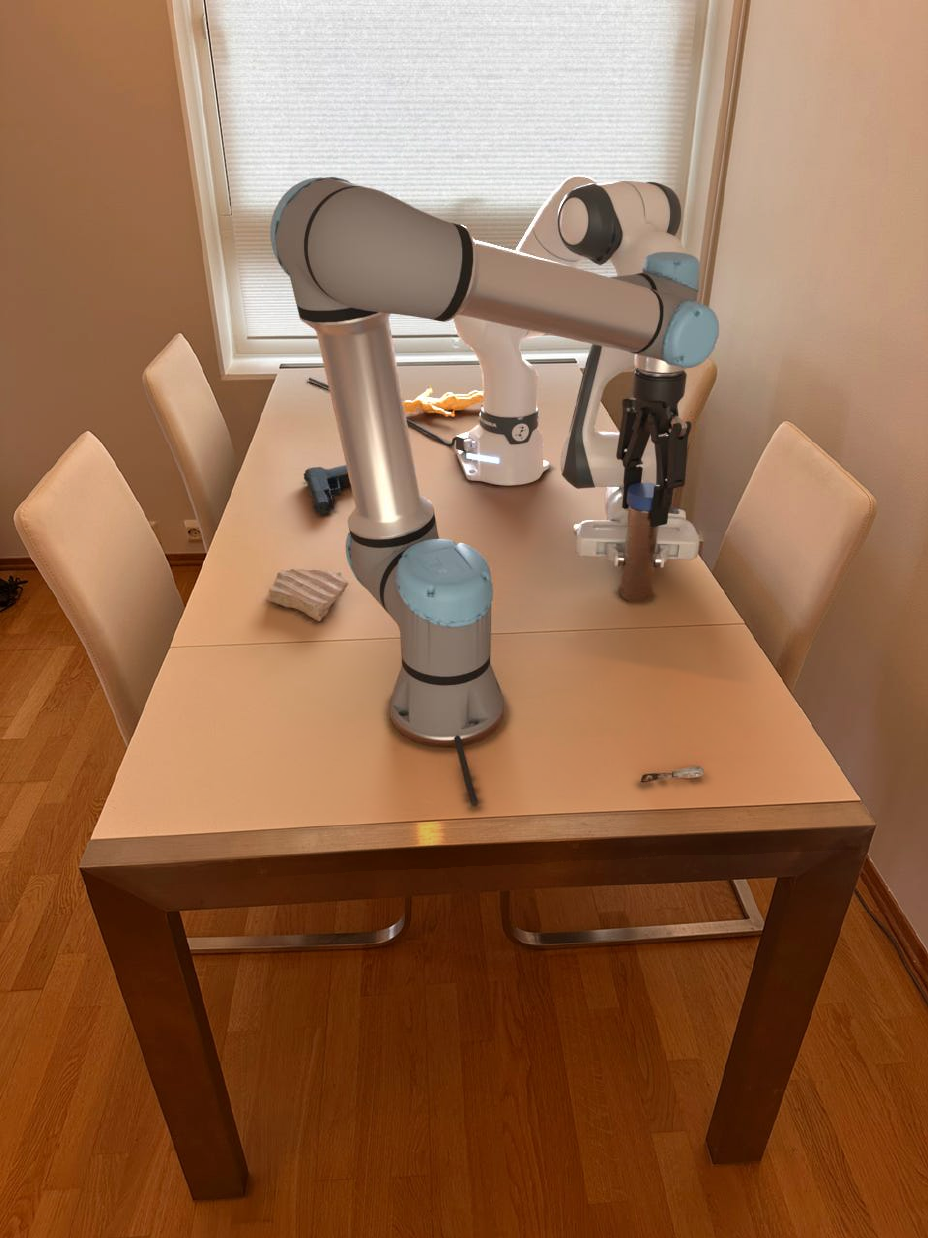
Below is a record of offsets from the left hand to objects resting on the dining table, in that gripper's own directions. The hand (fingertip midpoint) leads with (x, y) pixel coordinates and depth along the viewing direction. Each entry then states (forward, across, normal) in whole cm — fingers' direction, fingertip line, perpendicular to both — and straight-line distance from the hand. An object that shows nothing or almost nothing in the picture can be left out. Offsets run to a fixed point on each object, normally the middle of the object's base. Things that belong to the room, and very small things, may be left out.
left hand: (644, 515), depth 140 cm
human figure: (+14, +97, -13) cm, 99 cm away
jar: (+14, 0, 0) cm, 14 cm away
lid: (-4, 0, 0) cm, 4 cm away
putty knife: (+14, -39, +23) cm, 47 cm away
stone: (+14, +22, +49) cm, 56 cm away
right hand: (+8, -1, 0) cm, 8 cm away
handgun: (+14, +60, +31) cm, 69 cm away
